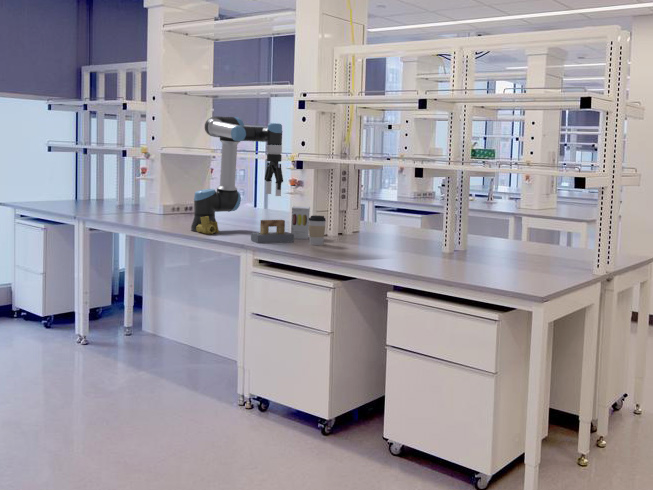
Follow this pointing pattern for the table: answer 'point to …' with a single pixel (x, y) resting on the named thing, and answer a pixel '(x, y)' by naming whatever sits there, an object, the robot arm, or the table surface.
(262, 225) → the clip
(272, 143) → the robot arm
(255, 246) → the table surface
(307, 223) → the supplement box
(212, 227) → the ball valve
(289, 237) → the grey tray
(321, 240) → the coffee cup
